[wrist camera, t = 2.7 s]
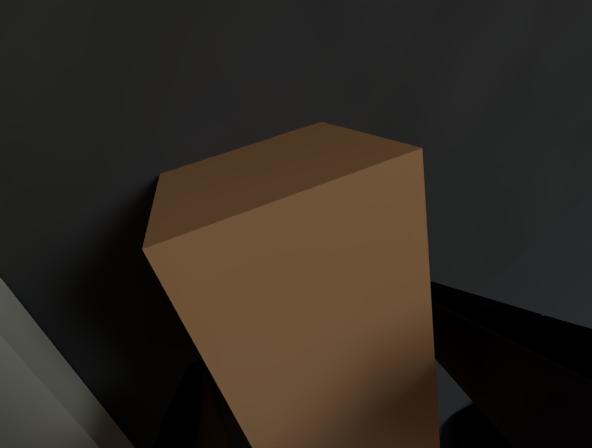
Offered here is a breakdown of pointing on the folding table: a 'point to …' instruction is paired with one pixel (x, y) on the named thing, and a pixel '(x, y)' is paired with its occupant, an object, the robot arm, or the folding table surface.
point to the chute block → (306, 286)
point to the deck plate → (45, 391)
